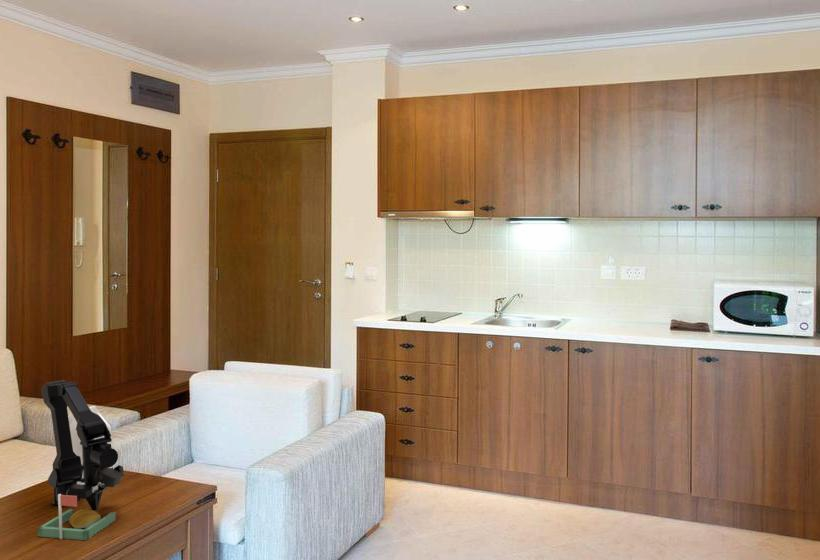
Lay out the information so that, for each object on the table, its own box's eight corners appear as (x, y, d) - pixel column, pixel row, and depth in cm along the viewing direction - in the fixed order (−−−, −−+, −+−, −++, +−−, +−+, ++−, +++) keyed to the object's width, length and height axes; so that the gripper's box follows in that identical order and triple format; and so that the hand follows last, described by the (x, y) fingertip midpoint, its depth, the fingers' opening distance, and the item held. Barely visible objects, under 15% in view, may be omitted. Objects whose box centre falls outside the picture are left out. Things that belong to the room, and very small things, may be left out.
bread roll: (76, 532, 208) (76, 519, 208) (66, 523, 215) (66, 510, 214) (105, 524, 214) (104, 511, 213) (94, 515, 220) (94, 503, 220)
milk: (94, 472, 260) (92, 402, 258) (115, 477, 254) (112, 406, 252) (64, 482, 250) (61, 409, 248) (85, 488, 244) (82, 413, 242)
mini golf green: (36, 537, 204) (34, 493, 203) (69, 517, 219) (68, 475, 218) (84, 541, 201) (82, 496, 201) (115, 520, 216) (114, 478, 215)
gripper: (98, 472, 207) (101, 524, 208) (134, 452, 225) (135, 500, 226) (64, 470, 209) (66, 522, 210) (101, 450, 227) (103, 498, 228)
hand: (95, 510), depth 219 cm, fingers closed
